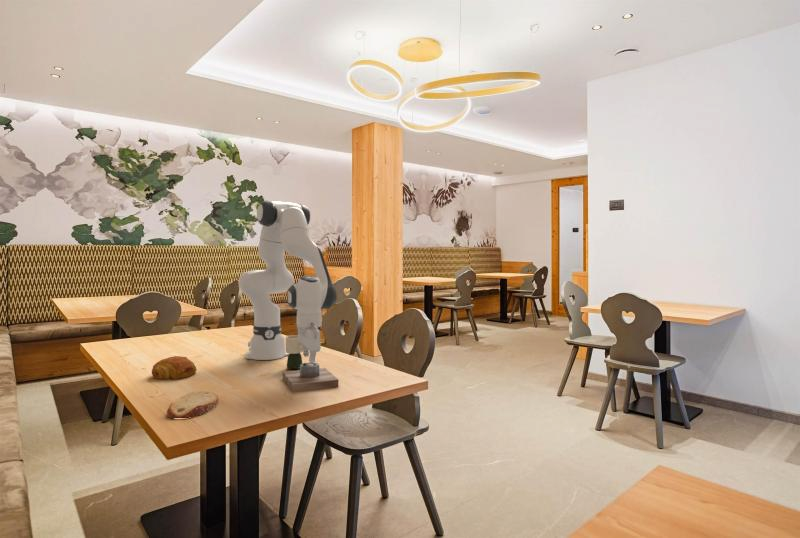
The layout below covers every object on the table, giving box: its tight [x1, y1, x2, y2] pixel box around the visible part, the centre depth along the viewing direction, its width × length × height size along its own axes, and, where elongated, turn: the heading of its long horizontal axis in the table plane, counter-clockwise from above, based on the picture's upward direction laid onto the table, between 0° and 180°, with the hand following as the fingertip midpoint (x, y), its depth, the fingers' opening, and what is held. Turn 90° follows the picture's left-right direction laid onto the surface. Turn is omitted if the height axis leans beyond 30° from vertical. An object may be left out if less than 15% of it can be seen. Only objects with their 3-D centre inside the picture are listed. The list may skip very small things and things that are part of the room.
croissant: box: [151, 355, 197, 380], centre depth 180 cm, size 14×16×8 cm
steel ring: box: [299, 361, 320, 378], centre depth 171 cm, size 6×6×4 cm
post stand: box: [282, 364, 339, 393], centre depth 171 cm, size 18×16×6 cm
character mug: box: [285, 334, 303, 370], centre depth 191 cm, size 11×7×13 cm, turn 52°
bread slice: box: [166, 390, 219, 419], centre depth 144 cm, size 18×18×4 cm
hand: (309, 359), depth 171 cm, fingers open, 8 cm apart
